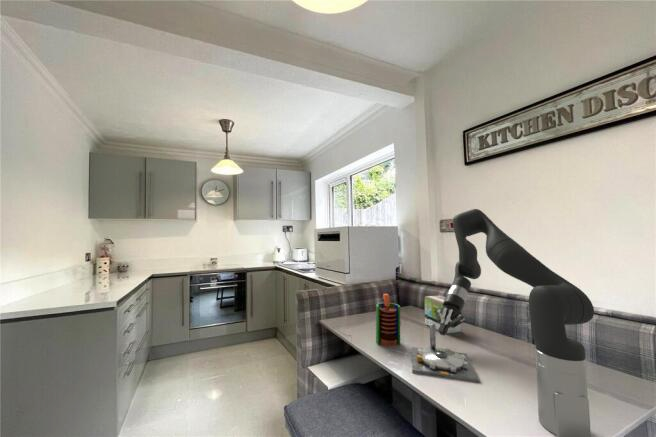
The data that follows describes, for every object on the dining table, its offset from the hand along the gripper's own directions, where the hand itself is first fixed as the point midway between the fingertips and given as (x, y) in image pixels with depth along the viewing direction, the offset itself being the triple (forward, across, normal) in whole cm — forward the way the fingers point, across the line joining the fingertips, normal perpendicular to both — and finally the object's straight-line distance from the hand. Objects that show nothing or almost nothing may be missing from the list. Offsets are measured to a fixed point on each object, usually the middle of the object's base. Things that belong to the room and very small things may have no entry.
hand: (441, 333), depth 108 cm
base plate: (+12, -5, +2) cm, 13 cm away
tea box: (-15, +15, -25) cm, 33 cm away
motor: (+12, +20, +1) cm, 23 cm away
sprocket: (+11, -5, +3) cm, 13 cm away
